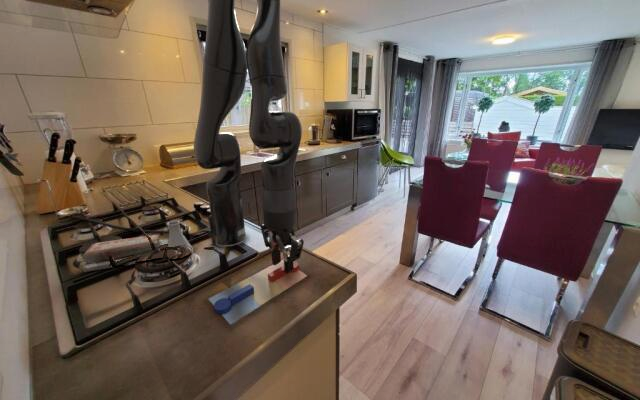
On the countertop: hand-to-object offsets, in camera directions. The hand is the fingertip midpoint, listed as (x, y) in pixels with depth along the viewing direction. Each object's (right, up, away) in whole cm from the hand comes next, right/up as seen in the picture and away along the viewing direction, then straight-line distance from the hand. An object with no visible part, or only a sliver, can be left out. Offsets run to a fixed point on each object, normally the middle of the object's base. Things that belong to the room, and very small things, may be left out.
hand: (282, 267), depth 63 cm
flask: (-31, +1, +10) cm, 33 cm away
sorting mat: (-5, -4, -3) cm, 7 cm away
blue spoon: (-9, -5, -8) cm, 13 cm away
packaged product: (-44, +1, +8) cm, 45 cm away
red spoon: (0, -2, +1) cm, 2 cm away
